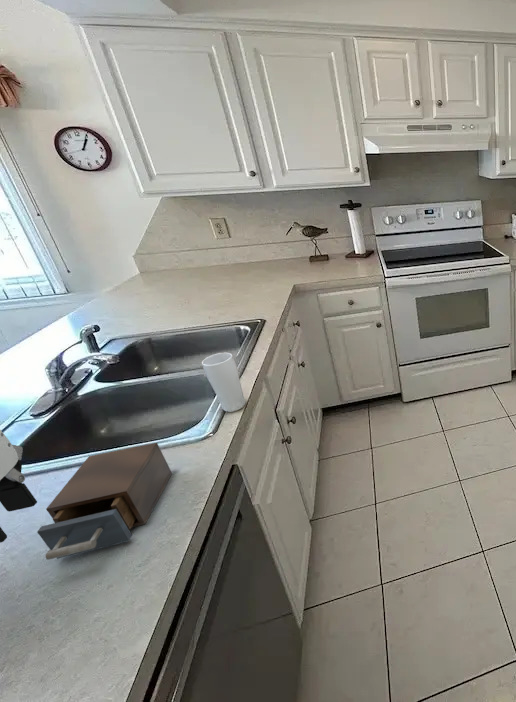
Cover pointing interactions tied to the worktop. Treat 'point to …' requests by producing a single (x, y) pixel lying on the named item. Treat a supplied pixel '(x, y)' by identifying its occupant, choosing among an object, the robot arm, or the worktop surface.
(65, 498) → the cabinet
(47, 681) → the worktop surface
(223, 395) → the drinking glass
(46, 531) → the drawer
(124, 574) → the worktop surface
